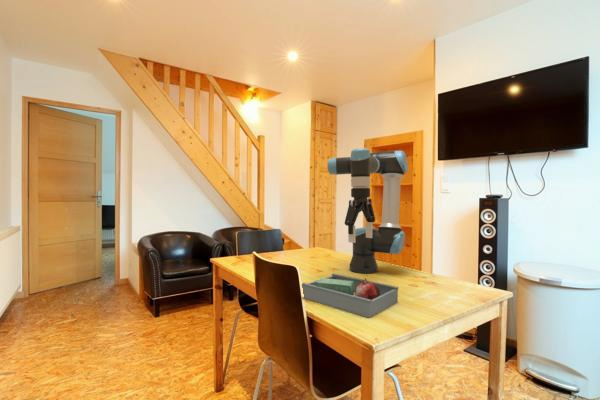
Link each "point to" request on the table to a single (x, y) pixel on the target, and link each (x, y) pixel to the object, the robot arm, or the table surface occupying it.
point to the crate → (352, 297)
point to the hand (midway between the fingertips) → (360, 240)
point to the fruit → (367, 290)
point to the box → (337, 285)
